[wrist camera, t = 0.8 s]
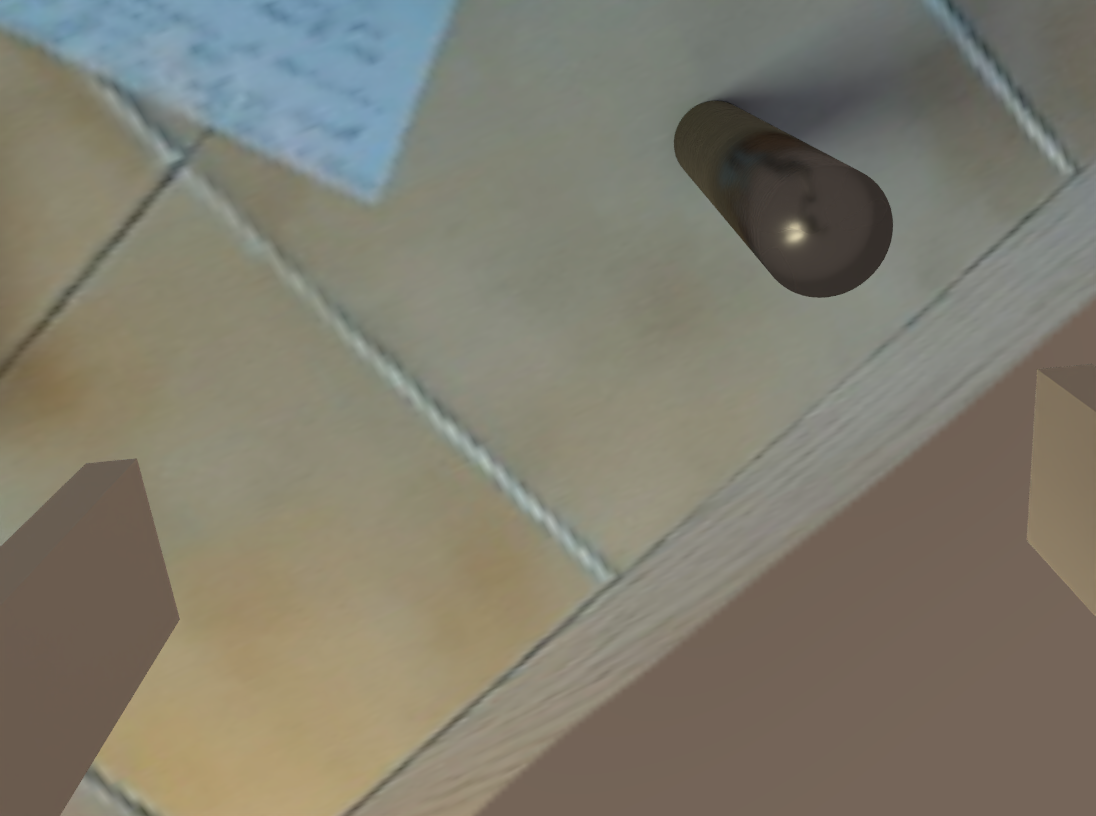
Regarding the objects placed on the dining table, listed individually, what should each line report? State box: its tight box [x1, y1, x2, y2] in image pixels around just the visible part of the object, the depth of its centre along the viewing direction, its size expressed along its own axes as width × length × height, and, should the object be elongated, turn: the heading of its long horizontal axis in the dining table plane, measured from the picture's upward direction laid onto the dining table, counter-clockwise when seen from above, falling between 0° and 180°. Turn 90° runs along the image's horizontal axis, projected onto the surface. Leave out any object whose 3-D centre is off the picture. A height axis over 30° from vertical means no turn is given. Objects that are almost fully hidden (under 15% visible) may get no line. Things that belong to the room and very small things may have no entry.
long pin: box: [674, 101, 893, 298], centre depth 30 cm, size 3×3×16 cm
